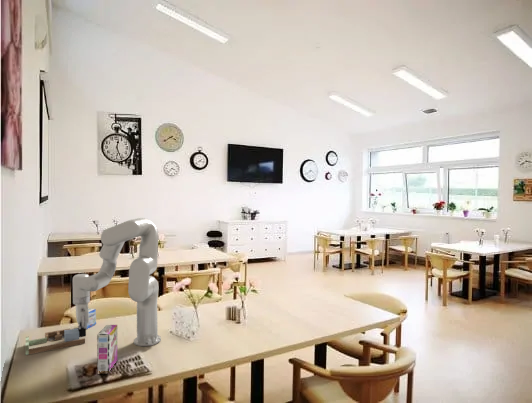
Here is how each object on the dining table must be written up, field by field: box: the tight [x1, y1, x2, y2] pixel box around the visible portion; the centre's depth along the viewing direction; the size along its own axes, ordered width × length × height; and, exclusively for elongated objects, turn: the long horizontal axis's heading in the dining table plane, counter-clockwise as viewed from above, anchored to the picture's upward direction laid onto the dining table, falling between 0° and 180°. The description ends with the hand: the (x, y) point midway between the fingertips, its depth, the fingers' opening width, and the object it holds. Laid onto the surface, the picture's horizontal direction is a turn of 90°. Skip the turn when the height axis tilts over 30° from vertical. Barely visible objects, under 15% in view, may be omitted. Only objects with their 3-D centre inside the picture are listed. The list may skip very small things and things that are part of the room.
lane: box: [25, 328, 86, 356], centre depth 183 cm, size 18×24×4 cm
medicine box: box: [85, 308, 97, 330], centre depth 203 cm, size 8×4×9 cm, turn 168°
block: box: [63, 327, 80, 342], centre depth 184 cm, size 6×6×5 cm
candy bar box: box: [96, 324, 118, 372], centre depth 156 cm, size 11×5×16 cm, turn 5°
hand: (82, 336), depth 187 cm, fingers closed
